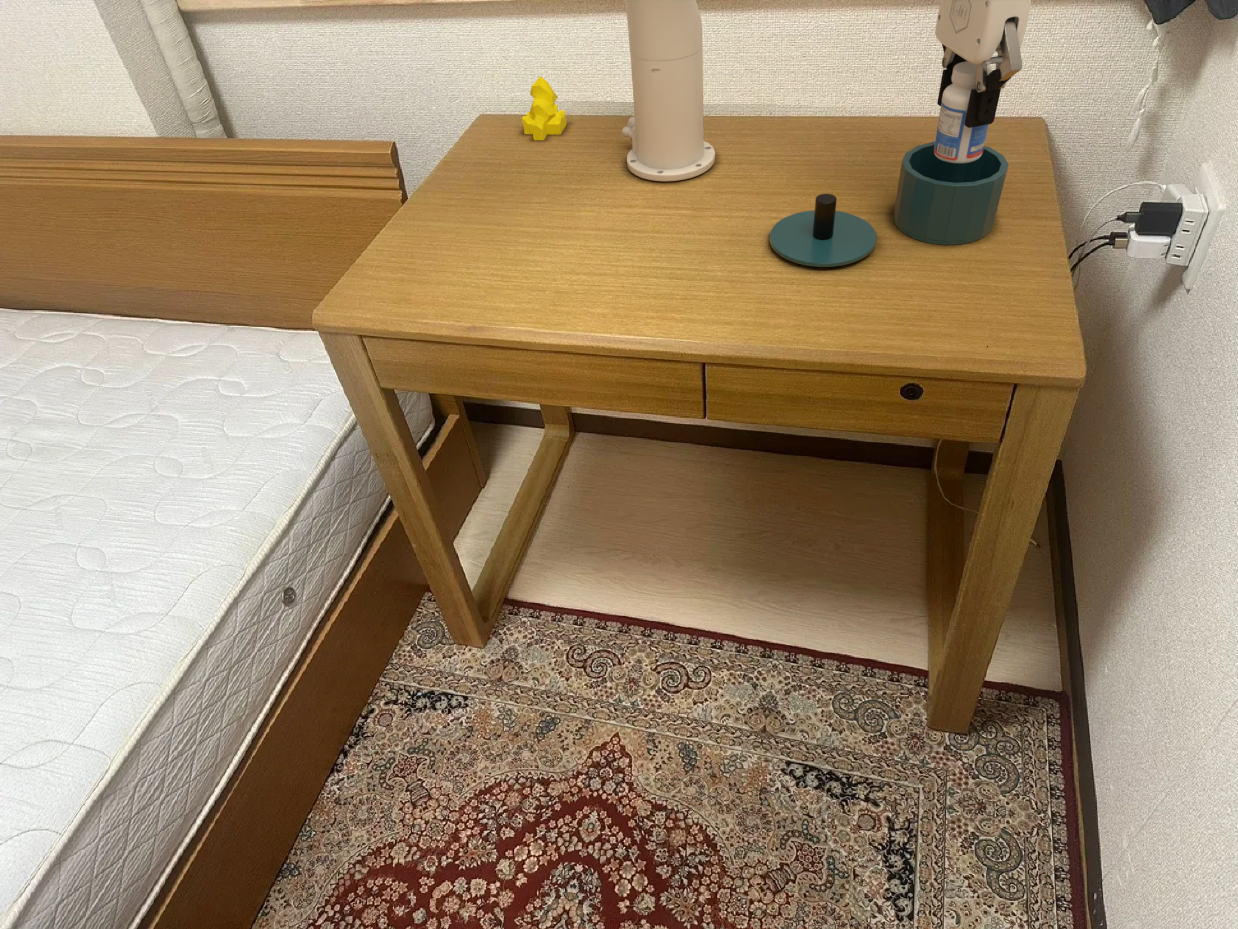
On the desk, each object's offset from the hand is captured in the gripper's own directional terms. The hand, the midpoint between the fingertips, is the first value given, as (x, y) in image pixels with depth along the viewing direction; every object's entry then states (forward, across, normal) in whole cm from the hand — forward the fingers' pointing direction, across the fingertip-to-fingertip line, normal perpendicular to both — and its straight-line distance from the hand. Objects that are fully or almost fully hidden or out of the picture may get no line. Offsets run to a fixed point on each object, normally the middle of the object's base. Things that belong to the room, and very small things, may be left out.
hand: (964, 112), depth 96 cm
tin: (+13, 0, 0) cm, 13 cm away
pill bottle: (+5, 0, 0) cm, 5 cm away
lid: (+13, 0, -16) cm, 20 cm away
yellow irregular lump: (+13, -47, -43) cm, 65 cm away
